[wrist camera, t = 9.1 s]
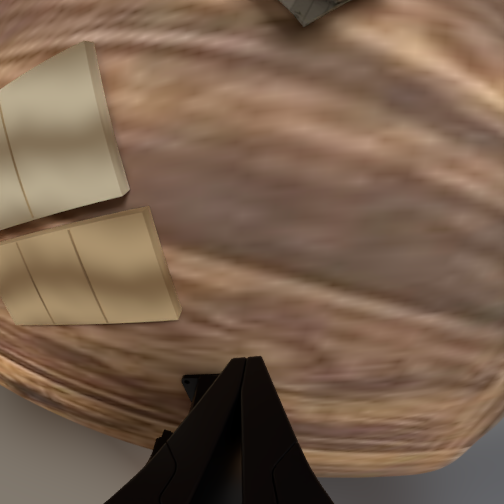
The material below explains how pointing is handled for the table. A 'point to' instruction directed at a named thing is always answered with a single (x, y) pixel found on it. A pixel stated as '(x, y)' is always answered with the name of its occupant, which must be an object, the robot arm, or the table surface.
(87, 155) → the beige grooved panel
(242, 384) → the robot arm
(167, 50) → the table surface
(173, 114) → the table surface
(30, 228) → the table surface
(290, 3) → the packaged product
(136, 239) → the laid board
